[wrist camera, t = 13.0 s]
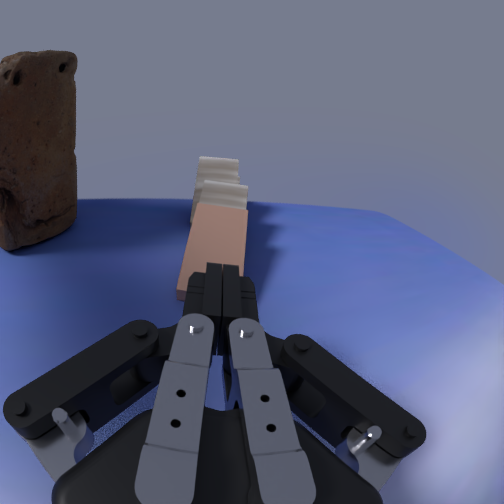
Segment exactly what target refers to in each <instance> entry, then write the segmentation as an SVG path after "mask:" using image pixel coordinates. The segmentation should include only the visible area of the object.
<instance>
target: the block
mask: <svg viewBox="0 0 504 504" xmlns="http://www.w3.org/2000/svg"><path fill="white" fill-rule="evenodd" d="M76 69H77V57H76V55H75V54H74V53H72V52H68V51H53V50H47V51H39V52H29V51H28V52H18V53H16V54H14V55H10V56H7V57H4V58H3V59H2V61H1V63H0V247H1V248H3V249H4V250H7V251H11V250H14V249H19V248H20V247H21V246H24V245H32V244H35V243H38V242H40V241H43V240H45V239H47V238H51V237H54V236H56V235H58V234H60V233H61V232H63V231H64V230H66V229H67V228H69V227H70V226H71V225H72V224H73V223H74V221H75V219H76V215H77V165H76V156H75V154H74V149H75V137H76V85H75V81H74V74H75V72H76Z"/></svg>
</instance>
